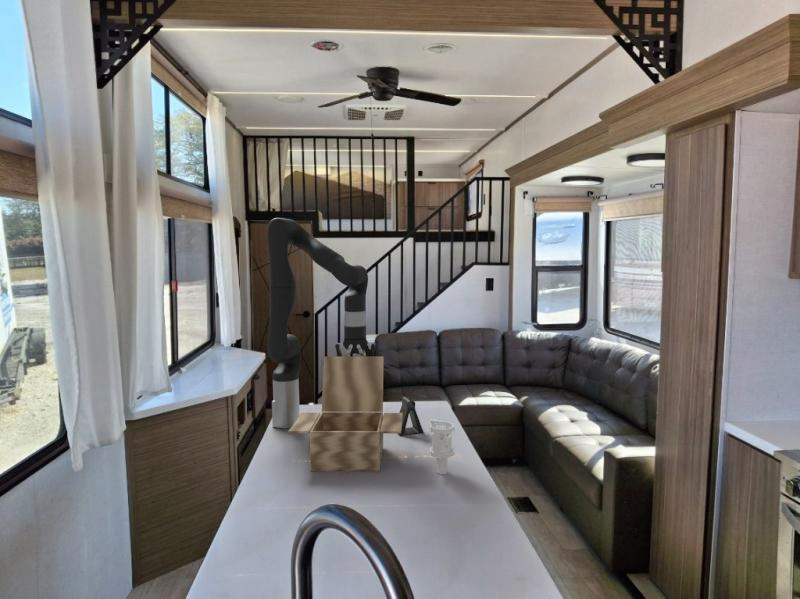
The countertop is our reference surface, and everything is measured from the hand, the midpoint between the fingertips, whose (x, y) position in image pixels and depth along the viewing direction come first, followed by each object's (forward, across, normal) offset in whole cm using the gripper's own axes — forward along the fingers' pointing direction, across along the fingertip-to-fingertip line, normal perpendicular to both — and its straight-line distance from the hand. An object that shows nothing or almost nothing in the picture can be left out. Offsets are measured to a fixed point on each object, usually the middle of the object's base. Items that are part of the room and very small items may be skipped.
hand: (355, 372), depth 176 cm
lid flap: (+2, 0, +9) cm, 9 cm away
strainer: (+22, -28, +30) cm, 47 cm away
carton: (+22, 0, +21) cm, 30 cm away
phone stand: (+22, -18, -3) cm, 29 cm away
